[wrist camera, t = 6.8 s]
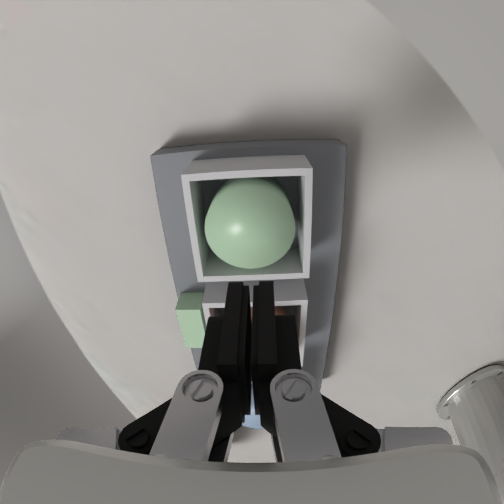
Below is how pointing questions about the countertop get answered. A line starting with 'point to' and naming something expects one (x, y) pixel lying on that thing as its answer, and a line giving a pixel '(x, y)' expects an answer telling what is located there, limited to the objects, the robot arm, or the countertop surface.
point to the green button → (250, 222)
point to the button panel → (280, 272)
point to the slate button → (252, 417)
